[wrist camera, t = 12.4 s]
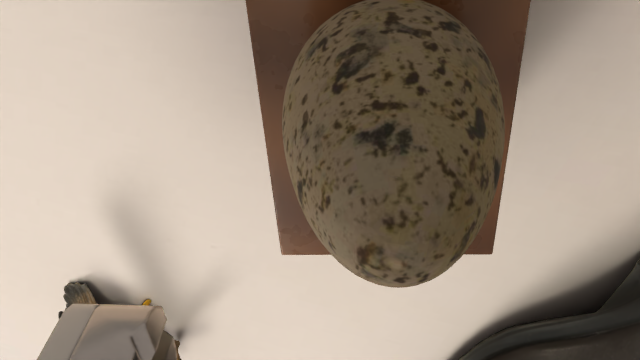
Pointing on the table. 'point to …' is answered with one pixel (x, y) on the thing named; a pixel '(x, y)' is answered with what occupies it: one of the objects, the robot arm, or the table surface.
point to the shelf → (290, 37)
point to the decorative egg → (394, 138)
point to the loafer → (574, 333)
